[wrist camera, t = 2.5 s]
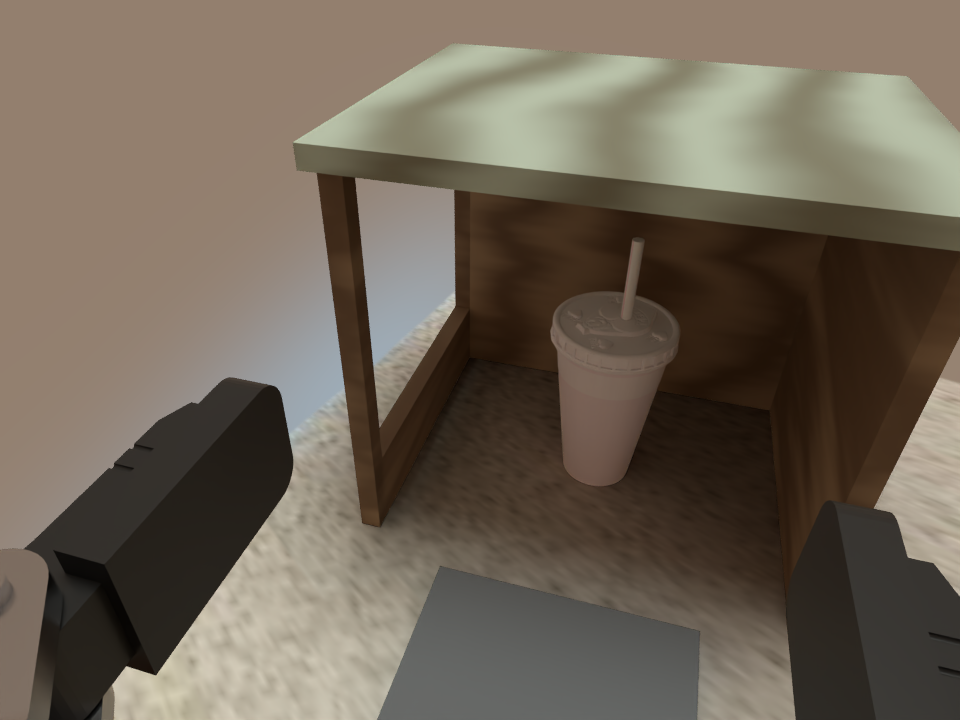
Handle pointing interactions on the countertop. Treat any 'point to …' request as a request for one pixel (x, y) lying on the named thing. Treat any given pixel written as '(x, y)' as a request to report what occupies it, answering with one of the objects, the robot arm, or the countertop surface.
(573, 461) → the smoothie
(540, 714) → the slate mat
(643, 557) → the countertop surface
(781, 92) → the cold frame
